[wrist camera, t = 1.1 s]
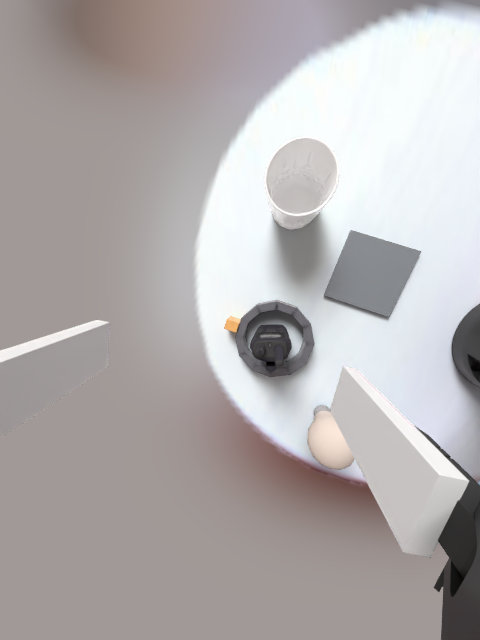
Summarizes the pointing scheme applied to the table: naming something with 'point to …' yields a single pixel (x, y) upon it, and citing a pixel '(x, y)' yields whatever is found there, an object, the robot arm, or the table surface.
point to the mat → (371, 273)
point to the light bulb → (328, 441)
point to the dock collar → (258, 365)
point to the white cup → (300, 181)
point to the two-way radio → (271, 345)
